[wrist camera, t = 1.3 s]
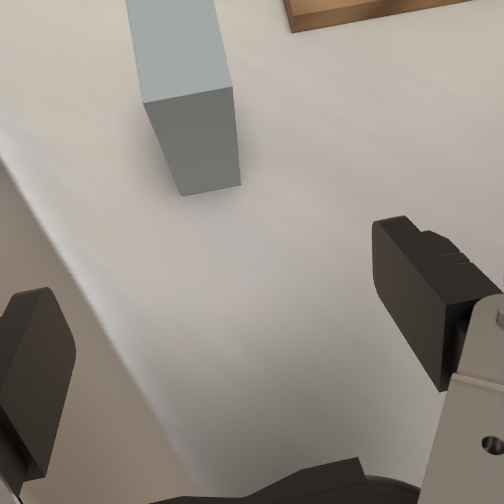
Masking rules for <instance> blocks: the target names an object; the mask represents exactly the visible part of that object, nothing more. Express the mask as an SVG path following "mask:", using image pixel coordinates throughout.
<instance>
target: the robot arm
mask: <svg viewBox="0 0 504 504" xmlns="http://www.w3.org/2000/svg"><path fill="white" fill-rule="evenodd" d="M372 258H373V279H374V284H375V288H376V291H377V293H378V296H379V298H380V299H381V301H382V302H383V304H384V306H385V307H386V309H387V310H388V312H389V314H390V315H391V317H392V318H393V320H394V321H395V323H396V325H397V326H398V328H399V329H400V331H401V333H402V334H403V336H404V337H405V339H406V340H407V342H408V344H409V345H410V347H411V348H412V350H413V352H414V353H415V355H416V356H417V358H418V360H419V361H420V363H421V364H422V366H423V367H424V369H425V371H426V372H427V374H428V375H429V377H430V379H431V380H432V382H433V383H434V385H435V386H436V388H437V390H438V391H439V392H444V391H447V395H446V399H445V402H444V406H443V410H442V414H441V417H440V421H439V425H438V428H437V432H436V436H435V440H434V443H433V447H432V451H431V455H430V458H429V462H428V466H427V469H426V473H425V477H424V481H423V484H422V488H421V489H420V488H418V487H416V486H413V485H411V484H408V483H405V482H402V481H399V480H395V479H391V478H386V477H380V476H370V475H364V472H363V469H362V467H361V464H360V461H359V459H358V457H355V458H351V459H346V460H342V461H337V462H333V463H328V464H324V465H320V466H315V467H311V468H306V469H302V470H299V471H297V472H295V473H293V474H291V475H289V476H287V477H285V478H283V479H281V480H279V481H277V482H275V483H273V484H271V485H269V486H267V487H265V488H263V489H261V490H259V491H257V492H255V493H253V494H251V495H249V496H247V497H243V498H223V497H190V496H181V497H176V498H172V499H167V500H163V501H159V502H154V503H150V504H504V293H503V292H502V291H501V290H500V289H499V288H498V287H497V286H496V285H495V284H494V283H493V282H492V281H491V280H490V279H489V278H488V277H487V276H486V275H485V274H484V273H483V272H482V271H480V270H479V269H478V268H477V267H476V266H475V265H474V264H473V263H470V260H469V259H468V258H467V257H466V256H465V255H464V254H463V253H460V250H459V249H458V248H457V247H456V246H455V245H454V244H453V243H452V242H451V241H450V240H449V239H447V238H445V237H443V236H441V235H439V234H436V233H434V232H432V231H430V230H428V231H423V232H421V231H420V230H419V229H418V228H417V227H416V226H415V225H414V224H413V223H412V222H411V221H410V220H409V219H408V218H407V217H406V216H398V217H393V218H388V219H383V220H378V221H374V223H373V225H372ZM75 359H76V348H75V342H74V338H73V336H72V333H71V331H70V328H69V326H68V324H67V322H66V320H65V317H64V315H63V313H62V311H61V309H60V306H59V304H58V302H57V300H56V298H55V295H54V294H53V292H52V290H51V289H50V288H48V287H44V288H38V289H34V290H29V291H24V292H19V293H15V294H14V295H13V296H12V298H11V300H10V302H9V304H8V306H7V308H6V309H5V311H4V314H3V316H2V317H0V504H25V503H24V502H23V500H22V499H21V498H20V496H19V495H20V491H21V488H22V485H23V482H26V481H30V480H35V479H39V478H44V477H46V473H47V469H48V465H49V461H50V457H51V453H52V449H53V445H54V442H55V438H56V434H57V430H58V426H59V422H60V418H61V414H62V410H63V406H64V402H65V399H66V395H67V391H68V387H69V383H70V379H71V375H72V371H73V367H74V363H75Z"/></svg>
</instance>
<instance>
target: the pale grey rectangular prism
mask: <svg viewBox="0 0 504 504" xmlns="http://www.w3.org/2000/svg"><path fill="white" fill-rule="evenodd" d="M126 6H127V12H128V18H129V24H130V30H131V36H132V42H133V48H134V54H135V60H136V66H137V72H138V78H139V84H140V90H141V96H142V102H143V105H144V107H145V110H146V112H147V114H148V117H149V119H150V122H151V124H152V126H153V129H154V131H155V133H156V136H157V138H158V140H159V143H160V145H161V148H162V150H163V152H164V155H165V157H166V159H167V162H168V164H169V166H170V169H171V171H172V174H173V176H174V178H175V181H176V183H177V185H178V188H179V190H180V192H181V195H182V196H186V195H191V194H196V193H201V192H206V191H212V190H217V189H222V188H227V187H232V186H237V185H241V182H240V171H239V159H238V147H237V135H236V123H235V111H234V100H233V88H232V82H231V78H230V73H229V69H228V64H227V60H226V55H225V51H224V46H223V42H222V37H221V33H220V28H219V24H218V19H217V15H216V10H215V5H214V1H213V0H126Z"/></svg>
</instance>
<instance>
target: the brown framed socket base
mask: <svg viewBox="0 0 504 504" xmlns="http://www.w3.org/2000/svg"><path fill="white" fill-rule="evenodd" d="M464 1H469V0H284V4H285V8H286V12H287V16H288V19H289V23H290V27H291V31H292V33H294V32H300V31H305V30H311V29H316V28H322V27H327V26H332V25H338V24H343V23H349V22H354V21H360V20H365V19H371V18H376V17H382V16H387V15H393V14H398V13H403V12H409V11H414V10H420V9H425V8H431V7H436V6H442V5H447V4H453V3H458V2H464Z"/></svg>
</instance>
